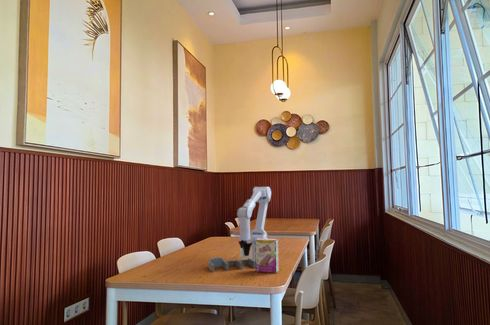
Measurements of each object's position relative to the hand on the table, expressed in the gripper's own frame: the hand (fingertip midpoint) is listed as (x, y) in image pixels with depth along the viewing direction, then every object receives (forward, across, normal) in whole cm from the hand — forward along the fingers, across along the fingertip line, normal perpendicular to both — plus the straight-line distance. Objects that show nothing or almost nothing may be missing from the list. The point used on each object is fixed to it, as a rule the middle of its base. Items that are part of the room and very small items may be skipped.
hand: (245, 254), depth 194 cm
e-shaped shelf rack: (+6, -1, -8) cm, 10 cm away
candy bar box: (+7, +15, +7) cm, 18 cm away
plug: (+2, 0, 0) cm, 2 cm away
